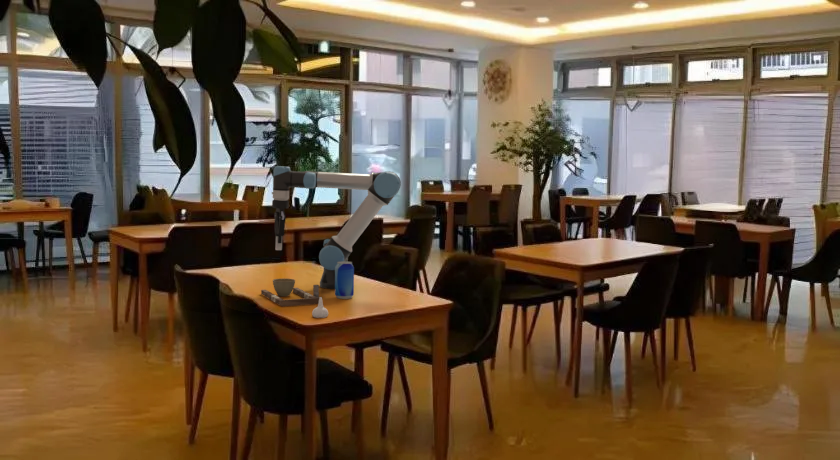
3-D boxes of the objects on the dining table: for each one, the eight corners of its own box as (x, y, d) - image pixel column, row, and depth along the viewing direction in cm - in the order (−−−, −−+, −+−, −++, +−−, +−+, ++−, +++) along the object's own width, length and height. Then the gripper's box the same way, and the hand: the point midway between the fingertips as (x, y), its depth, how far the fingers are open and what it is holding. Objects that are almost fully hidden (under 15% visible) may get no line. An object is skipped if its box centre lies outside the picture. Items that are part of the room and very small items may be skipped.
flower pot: (290, 298, 349) (290, 282, 348) (269, 296, 351) (269, 281, 350) (298, 294, 358) (298, 278, 358) (277, 293, 360) (277, 277, 360)
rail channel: (261, 294, 357) (261, 281, 356) (304, 291, 366) (304, 278, 366) (281, 306, 329) (281, 292, 328) (328, 303, 338) (328, 289, 338)
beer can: (338, 299, 347) (339, 263, 345) (332, 296, 354) (332, 261, 353) (356, 298, 351) (356, 263, 349) (349, 295, 358) (349, 260, 357)
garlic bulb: (319, 320, 306) (320, 300, 305) (308, 316, 310) (309, 296, 309) (331, 318, 311) (332, 298, 310) (320, 314, 315) (322, 295, 314)
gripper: (269, 198, 368) (267, 248, 370) (275, 200, 356) (273, 251, 359) (285, 198, 371) (283, 248, 373) (292, 200, 359) (290, 251, 362)
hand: (278, 249), depth 366 cm, fingers closed
